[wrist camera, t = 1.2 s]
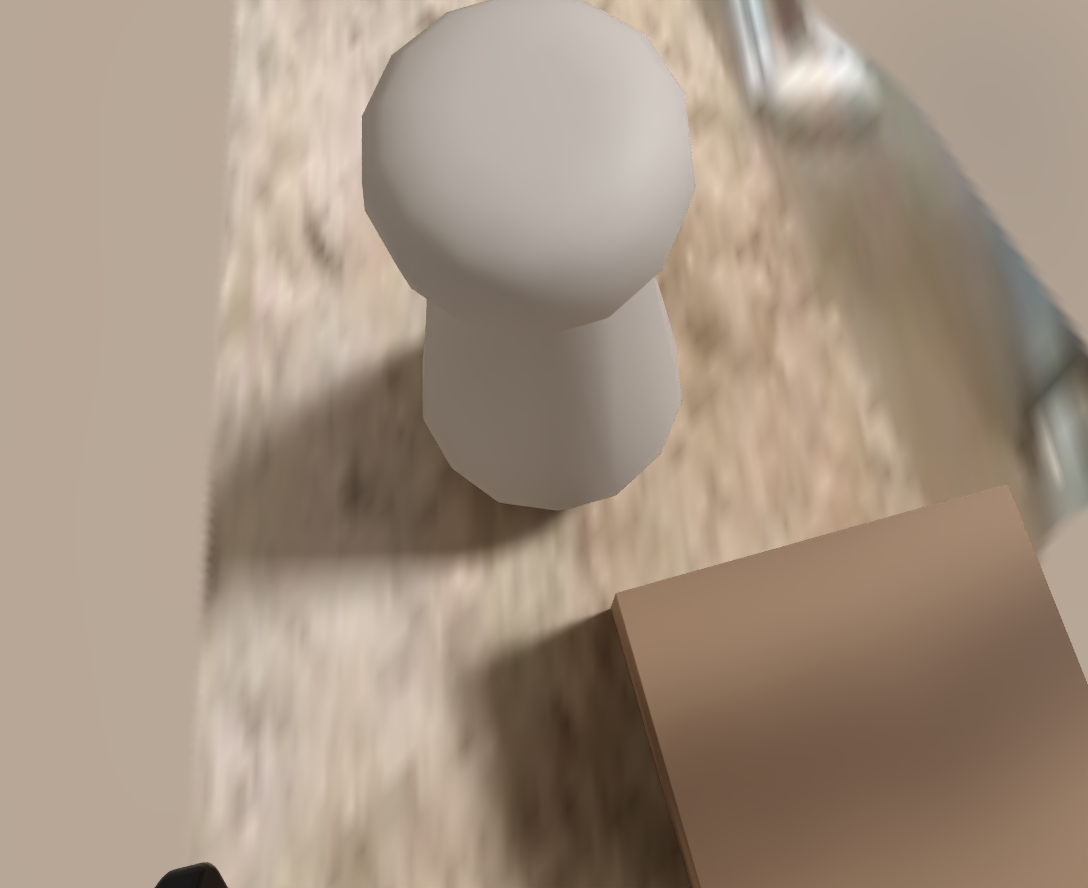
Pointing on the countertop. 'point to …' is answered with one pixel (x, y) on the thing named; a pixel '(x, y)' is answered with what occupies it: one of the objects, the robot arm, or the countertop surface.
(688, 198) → the salt shaker
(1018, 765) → the walnut plinth
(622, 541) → the countertop surface
